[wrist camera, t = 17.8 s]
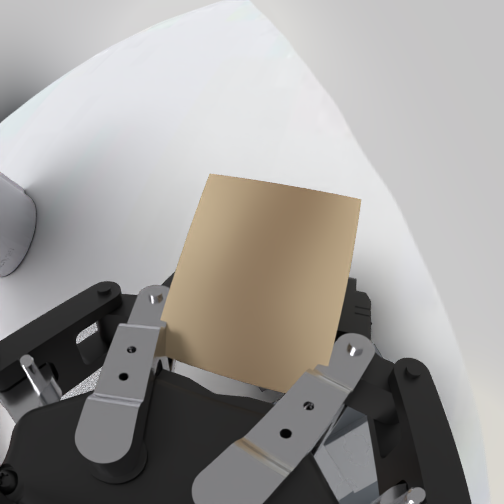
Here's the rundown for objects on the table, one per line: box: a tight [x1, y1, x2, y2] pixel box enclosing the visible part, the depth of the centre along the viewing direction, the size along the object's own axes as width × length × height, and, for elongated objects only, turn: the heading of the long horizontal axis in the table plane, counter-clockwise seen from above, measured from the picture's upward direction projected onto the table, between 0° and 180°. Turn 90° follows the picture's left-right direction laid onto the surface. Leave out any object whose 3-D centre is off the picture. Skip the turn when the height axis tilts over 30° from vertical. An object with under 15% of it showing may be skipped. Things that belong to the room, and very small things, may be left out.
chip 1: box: [324, 415, 377, 493], centre depth 15 cm, size 4×4×2 cm
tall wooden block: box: [160, 174, 361, 393], centre depth 13 cm, size 5×6×8 cm
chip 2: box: [314, 445, 353, 501], centre depth 15 cm, size 4×4×2 cm
